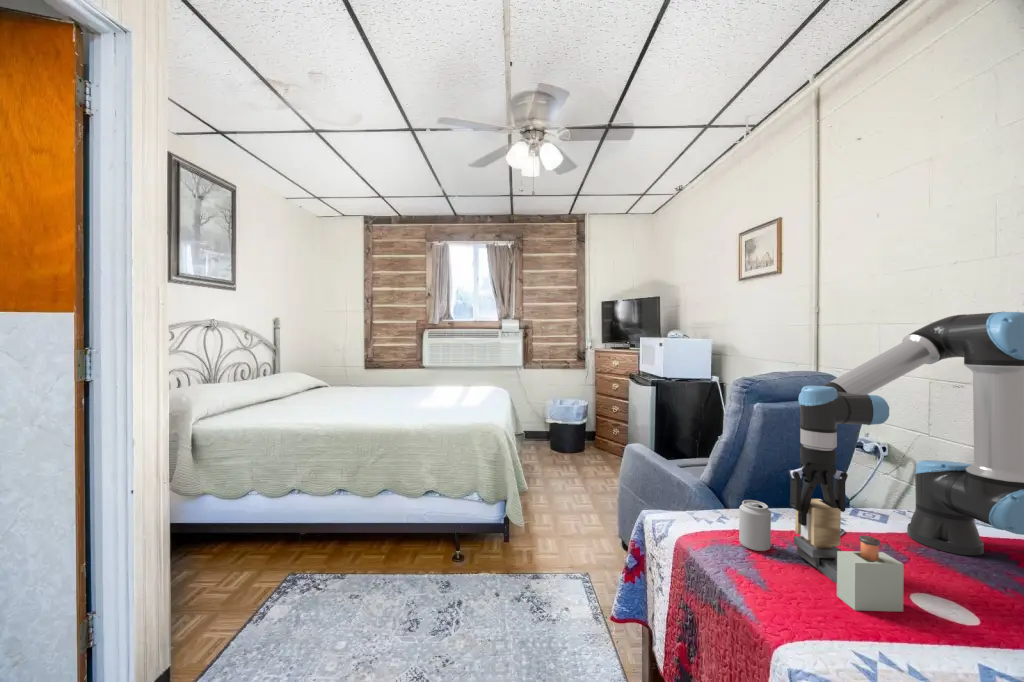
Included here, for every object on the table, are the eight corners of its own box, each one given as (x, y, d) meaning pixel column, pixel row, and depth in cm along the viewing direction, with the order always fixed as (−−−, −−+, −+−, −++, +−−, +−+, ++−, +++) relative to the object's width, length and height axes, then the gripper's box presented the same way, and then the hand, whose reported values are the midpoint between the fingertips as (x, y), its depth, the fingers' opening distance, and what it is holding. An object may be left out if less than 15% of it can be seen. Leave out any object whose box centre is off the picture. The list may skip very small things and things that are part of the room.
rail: (813, 557, 110) (813, 545, 110) (866, 596, 93) (866, 583, 93) (801, 556, 110) (801, 545, 110) (852, 596, 93) (852, 582, 93)
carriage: (820, 553, 110) (821, 498, 110) (841, 567, 103) (841, 509, 103) (793, 552, 110) (794, 498, 110) (812, 567, 103) (813, 509, 103)
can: (775, 555, 111) (775, 510, 111) (744, 552, 112) (744, 507, 112) (764, 541, 118) (764, 499, 118) (735, 539, 119) (735, 497, 119)
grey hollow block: (882, 597, 93) (882, 552, 93) (903, 611, 88) (903, 564, 88) (836, 595, 93) (837, 551, 93) (854, 610, 88) (855, 563, 88)
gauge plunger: (870, 553, 92) (871, 535, 92) (884, 561, 88) (884, 543, 88) (855, 553, 92) (855, 535, 92) (868, 561, 89) (868, 542, 89)
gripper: (842, 443, 110) (841, 531, 110) (773, 442, 110) (772, 530, 110) (865, 451, 102) (864, 545, 102) (791, 449, 103) (790, 544, 103)
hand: (817, 537), depth 106 cm, fingers open, 5 cm apart
